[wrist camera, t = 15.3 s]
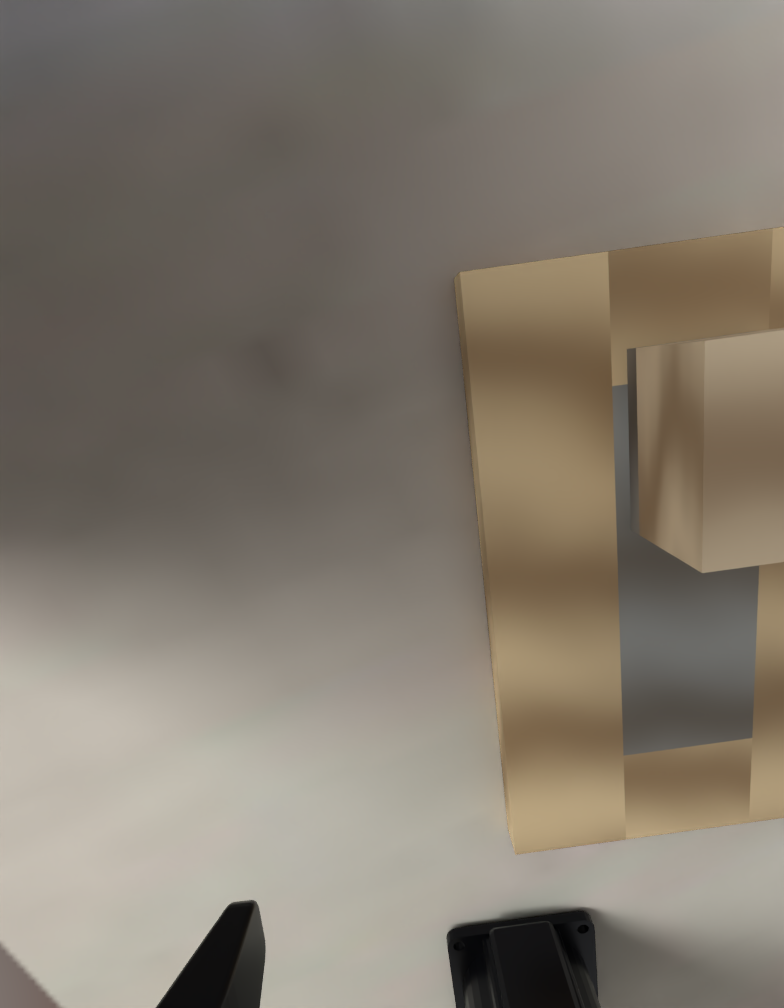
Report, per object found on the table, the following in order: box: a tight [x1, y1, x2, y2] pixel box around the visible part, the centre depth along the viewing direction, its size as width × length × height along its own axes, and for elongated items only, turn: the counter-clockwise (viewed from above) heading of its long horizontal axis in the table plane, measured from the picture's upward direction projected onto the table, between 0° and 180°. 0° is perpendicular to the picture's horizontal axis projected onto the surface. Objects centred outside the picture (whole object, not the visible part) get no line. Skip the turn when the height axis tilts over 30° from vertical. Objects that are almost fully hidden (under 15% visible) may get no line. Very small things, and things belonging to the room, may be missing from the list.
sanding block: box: [627, 328, 784, 573], centre depth 15 cm, size 6×4×4 cm, turn 8°
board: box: [454, 227, 784, 855], centre depth 19 cm, size 22×14×1 cm, turn 8°
